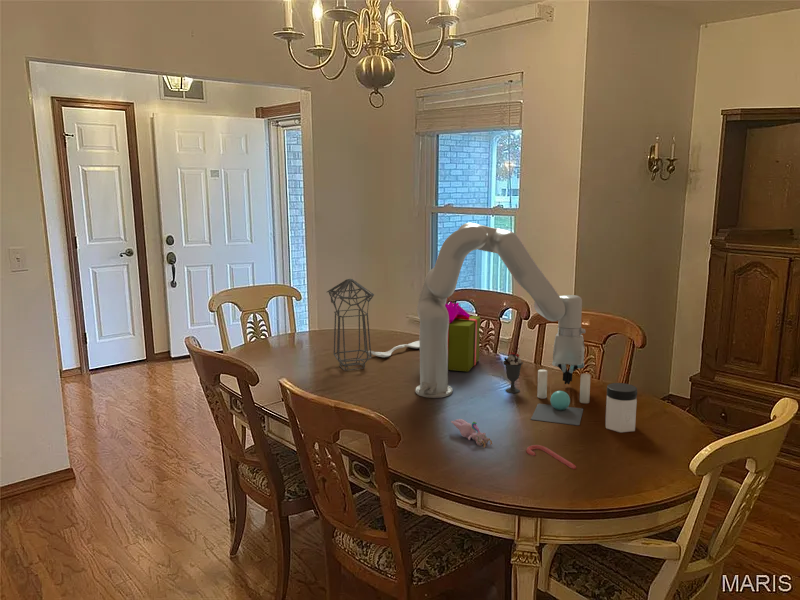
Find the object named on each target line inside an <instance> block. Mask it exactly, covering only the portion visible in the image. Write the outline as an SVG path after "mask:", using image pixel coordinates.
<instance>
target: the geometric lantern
mask: <svg viewBox="0 0 800 600" xmlns="http://www.w3.org/2000/svg"><path fill="white" fill-rule="evenodd" d="M354 285H355V286H356V287H357V288H355V286H354ZM361 291H363V292H364V294H365V295H363V296H358V294H359V293H360V292H361ZM326 293H328V294H329V297H330V303H331V304H332V305H333V306H334V309H335V311H333V313H334V327H333V329H334V331H333V334H334V335H333V356H334V357H335V359H336V360H337V362H338V363H339V368H341V369H342V370H343V371H345V372H346V371H355V370H362V369H365V368H366V363H367V361H369V360H370V359H372V354H371V351H372V349H371V336H370V335H371V334H370V322H369V302H370V301H371V300H372V299H373V298H374V296H375V293H373V292H372V291H370V290H369V289H367V288H366V287H365V286H363V285H362V284H360V283H359V282H357V281H356V280H354V279H353V278H346V279H345V280H343V281H342V282H340V283H337V285H335V286H334V287H332V288H330V289H329V290H328V291H326ZM345 293H348V296H345ZM352 293H354V294H353V295H352ZM363 298H364V299H363ZM337 299H340V300H341V301H340V304H339V306H338V309H337V305H336V300H337ZM358 299H362V300H360V301H359V302H358ZM346 300H348V301H346ZM351 300H352V301H353V302H354V303H353V304H352V303H351V302H350V301H351ZM343 302H344V303H346V304H347V305H349V306H348V308H346V309H344V310H343V309H342V310H340V309H341V307H342V303H343ZM363 302H364V303H363ZM362 303H363V305H362V307H361V306H360V304H362ZM366 303H367V311H365V310H364V307H365V305H366ZM353 306H354V307H355V306H357V307H358V308H354V309H353V308H352V309H351V307H353ZM350 311H358V315H356V314H355V315H346V314H347V312H350ZM341 312H344V314H343V315H340V313H341ZM351 317H353V318H354V317H358V349H354V350H353V349H352V350H346V344H345V322H344V321H345V320H344V318H351ZM361 317H362V318H361ZM361 319H362V320H361ZM341 321H342V342H343V343H342V344H343V351H340V350H341V349H340V348H341V347H340V346H341V345H340V343H341V340H340V339H341ZM361 321H362V331H363V343H364V344H363V345H364V349H361ZM366 326H367V327H366ZM336 327H337V328H336ZM336 332H337V333H336ZM336 334H337V337H336ZM367 336H368V337H367ZM367 338H368V339H367ZM336 339H337V341H336ZM336 342H337V344H336ZM368 347H369V350H368ZM368 351H370V353H368ZM353 352H357V354H356V357H353V358H351V357H350V358H346V353H353ZM360 352H362V354H361V355H360V356H359V353H360ZM340 354H343V359H342V358H341V357H340ZM364 354H366V358H361V357H362V356H363V355H364ZM360 361H361V362H362V363H361V362H360ZM347 362H348V363H347ZM349 362H350V363H349ZM344 363H345V364H344ZM359 365H360V366H362V367H357V368H351V369H349V367H350V366H359ZM342 366H344V367H342Z"/></svg>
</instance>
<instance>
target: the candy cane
mask: <svg viewBox="0 0 800 600" xmlns="http://www.w3.org/2000/svg"><path fill="white" fill-rule="evenodd" d="M533 450H541V451H543V452H544V453H546V454H547V455H549V456H551V457H552V458H554V459H556V460H557V461H558V462H560V463H562V464H564V465H565V466H567V467H569V468H571V469H572V470H576V469H577V466H576V465H575V464H574V463H573V462H571V461H569V460H567V459H566V458H564V457H562V456H561V455H559V454H557V453H556V452H554V451H553V450H551V449H549V448H548V447H546V446H544V445H540V444H533V445H529V446H527V448H526V450H525V452H526V453H527V454H528V455H529V456H532V457H535V456H536V452H535V451H533Z"/></svg>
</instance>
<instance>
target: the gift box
mask: <svg viewBox="0 0 800 600" xmlns="http://www.w3.org/2000/svg"><path fill="white" fill-rule="evenodd" d="M445 307H446V309H447V311H448V314H449V328H448V371H457V372H458V371H459V372H470V370H471V369H472V368H474V367H475V366H477V365H476V364H477V363H478V361H479V360H480V328H481V316H476V315H475V316H474V315H472V314H469V313H468V311H466V310H465V309H464V308H463V307H462V306H461V305H460V303H459V302H456V303H452V301H449V303H447V302H446V304H445Z"/></svg>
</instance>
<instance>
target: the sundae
mask: <svg viewBox="0 0 800 600" xmlns="http://www.w3.org/2000/svg"><path fill="white" fill-rule="evenodd" d="M518 351H519V347H516V350H515V351H514V352H512V353H511V354H509V355H507V357H504V358H503V361H502V362H503V363H502V364H503V365H504V366H505V371H506V373H505V375H506V378H507V379H508V380H509V381H510V387H507V388H506V389H505V390H504V391H505V392H506V393H509V394H518V392H519V393H520V392H521V390H520V389H518V388H516V386H515V385H516V384H515V382H516V381H517V380H519V378H520V374H521V367H522V365H523V364H524V362H522V359H521V358H520V355H519V354H518Z"/></svg>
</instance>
